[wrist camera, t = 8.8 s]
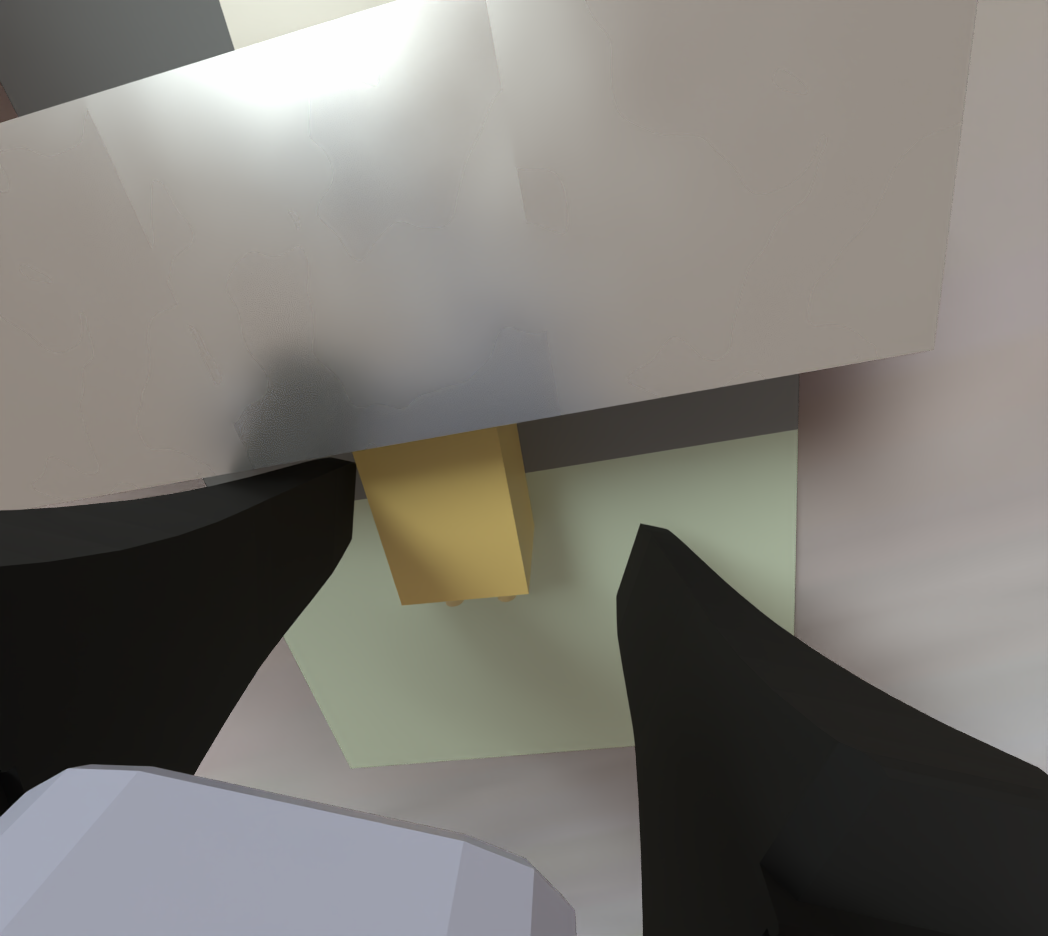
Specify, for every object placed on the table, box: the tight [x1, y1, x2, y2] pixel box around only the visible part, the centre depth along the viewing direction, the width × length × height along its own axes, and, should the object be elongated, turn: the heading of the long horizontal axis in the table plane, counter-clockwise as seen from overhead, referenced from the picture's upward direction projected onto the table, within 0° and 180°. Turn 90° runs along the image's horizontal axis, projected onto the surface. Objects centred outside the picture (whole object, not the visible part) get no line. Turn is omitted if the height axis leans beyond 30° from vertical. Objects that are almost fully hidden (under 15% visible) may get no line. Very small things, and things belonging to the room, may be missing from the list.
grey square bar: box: [0, 0, 978, 510], centre depth 9 cm, size 5×15×5 cm, turn 102°
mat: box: [0, 0, 799, 769], centre depth 10 cm, size 37×16×1 cm, turn 12°
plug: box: [219, 0, 534, 607], centre depth 10 cm, size 16×3×3 cm, turn 9°
